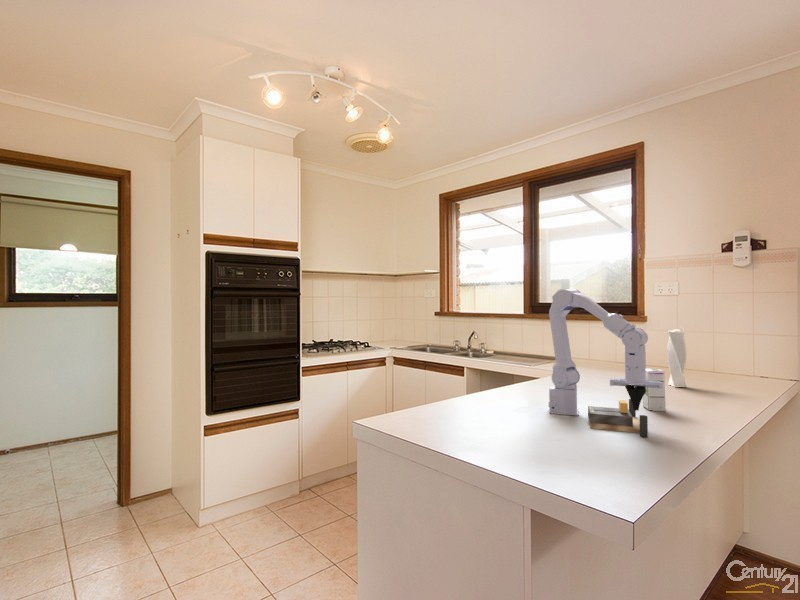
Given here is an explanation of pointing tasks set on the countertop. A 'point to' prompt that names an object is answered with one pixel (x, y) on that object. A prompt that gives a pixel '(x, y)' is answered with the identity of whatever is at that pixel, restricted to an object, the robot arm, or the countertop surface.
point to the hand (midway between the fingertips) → (635, 409)
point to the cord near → (643, 426)
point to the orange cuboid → (623, 406)
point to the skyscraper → (676, 357)
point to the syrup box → (655, 391)
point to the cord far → (631, 409)
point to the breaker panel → (618, 428)
